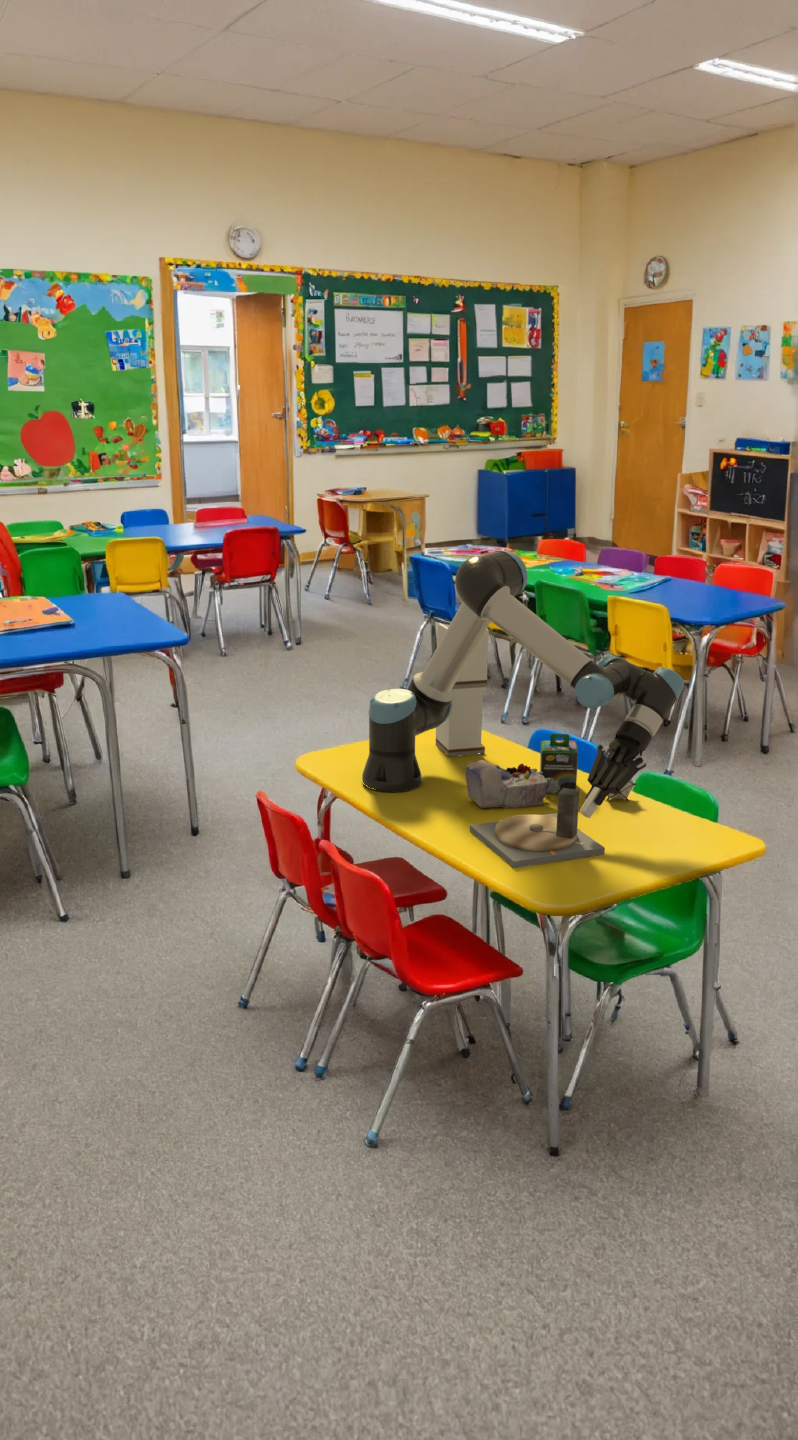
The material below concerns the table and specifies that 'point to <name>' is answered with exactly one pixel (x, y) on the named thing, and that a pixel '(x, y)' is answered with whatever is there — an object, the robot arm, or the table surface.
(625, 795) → the game die
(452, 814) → the table surface
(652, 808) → the table surface
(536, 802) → the cell model
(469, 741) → the tall cream pedestal vase
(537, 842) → the dial
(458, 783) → the table surface
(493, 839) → the dial base plate
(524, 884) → the table surface
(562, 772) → the chalk box
